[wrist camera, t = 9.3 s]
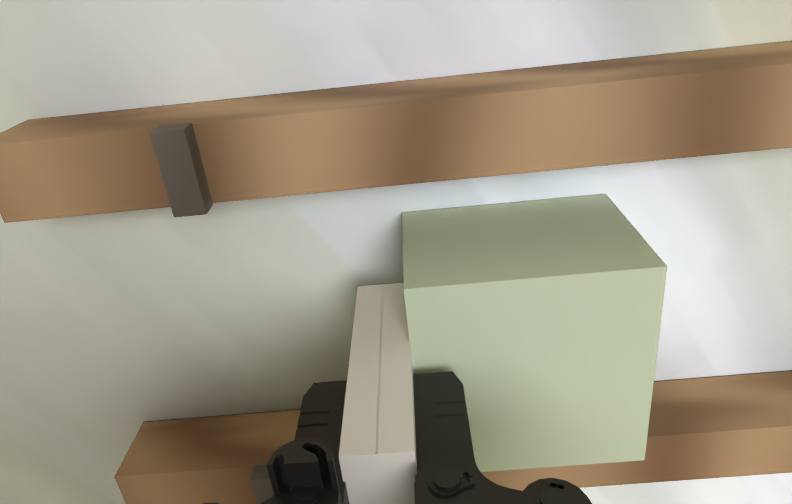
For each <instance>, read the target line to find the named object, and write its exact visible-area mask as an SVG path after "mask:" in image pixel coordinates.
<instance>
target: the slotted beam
mask: <svg viewBox="0 0 792 504" xmlns="http://www.w3.org/2000/svg"><path fill="white" fill-rule="evenodd" d="M790 147H792V41H784V42H775V43H765V44H755V45H746V46H736V47H726V48H717V49H707V50H697V51H688V52H678V53H668V54H659V55H649V56H640V57H630V58H620V59H611V60H601V61H591V62H582V63H572V64H562V65H553V66H543V67H533V68H524V69H514V70H504V71H495V72H485V73H476V74H466V75H456V76H447V77H437V78H427V79H418V80H408V81H398V82H389V83H379V84H369V85H360V86H350V87H340V88H331V89H321V90H312V91H302V92H292V93H283V94H273V95H263V96H254V97H244V98H234V99H225V100H215V101H205V102H196V103H186V104H176V105H167V106H157V107H148V108H138V109H128V110H119V111H109V112H99V113H90V114H80V115H70V116H61V117H51V118H41V119H32V120H27V121H25V122H23V123H21V124H18V125H16V126H14V127H12V128H10V129H8V130H6V131H4V132H2V133H0V214H1V216H2V218H3V221H4V223H7V222H17V221H28V220H38V219H49V218H59V217H70V216H80V215H90V214H101V213H111V212H122V211H132V210H143V209H153V208H164V207H171V208H172V212H173V215H174V217H182V216H192V215H203V214H207V213H208V211H209V210H210V208H211V207H212V205H213V203H216V202H226V201H237V200H247V199H257V198H268V197H278V196H289V195H299V194H310V193H320V192H331V191H341V190H351V189H362V188H372V187H383V186H393V185H404V184H414V183H424V182H435V181H445V180H456V179H466V178H477V177H487V176H498V175H508V174H518V173H529V172H539V171H550V170H560V169H571V168H581V167H592V166H602V165H612V164H623V163H633V162H644V161H654V160H665V159H675V158H685V157H696V156H706V155H717V154H727V153H738V152H748V151H759V150H769V149H779V148H790ZM299 416H300V410H291V411H278V412H265V413H253V414H240V415H228V416H215V417H202V418H190V419H177V420H165V421H152V422H143V424H142V426H141V428H140V430H139V432H138V433H137V435H136V437H135V439H134V441H133V443H132V445H131V447H130V449H129V450H128V452H127V454H126V456H125V458H124V460H123V462H122V464H121V466H120V468H119V469H118V471H117V473H116V475H115V479H116V481H117V484H118V486H119V488H120V491H121V493H122V495H123V498H124V500H125V502H126V504H203V503H216V502H217V503H220V504H260V503H262V502H264V501H266V500H267V499H269V498H270V497H272V496H273V495H274V493H273V489H272V485H271V481H270V477H269V474H268V470H267V466H266V465H267V463H268V461H269V459H270V457H271V455H272V454H273V453H274V452H275V451H276V450H277V449H278V448H279V447H281V446H283V445H285V444H287V443H289V442H291V441H294V439H295V434H296V429H297V425H298V420H299ZM789 472H792V371H782V372H770V373H757V374H745V375H732V376H719V377H707V378H694V379H681V380H669V381H656V382H654V383H653V392H652V400H651V409H650V418H649V426H648V435H647V443H646V452H645V460H641V461H628V462H614V463H600V464H586V465H572V466H558V467H544V468H531V469H517V470H503V471H489V472H481V473H482V474H483V475H484V476H485V477H486V478H487V479H488V480H490V481H492V482H494V483H496V484H497V485H500V486H504V487H507V488H511V489H516V490H521V491H523V490H524V489H525V488H526V487H527V485H528V484H530V483H532V482H534V481H536V480H538V479H545V478H556V479H561V480H566V481H568V482H570V483H572V484H574V485H575V486H577V487H579V488H580V487H594V486H608V485H622V484H636V483H650V482H664V481H678V480H692V479H706V478H720V477H734V476H747V475H761V474H775V473H789Z"/></svg>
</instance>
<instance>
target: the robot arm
mask: <svg viewBox="0 0 792 504" xmlns="http://www.w3.org/2000/svg"><path fill="white" fill-rule="evenodd" d="M266 466H267V470H268V474H269V477H270V481H271V485H272V489H273V493H274V495H273V496H272V497H270V498H269V499H267V500H266V501H264V502H262V503H260V504H592V503H591V501H590V500H589V498H588V497H587V496H586V495H585V494H584V493H583V492H582V490H581V489H580V488H579V487H577V486H575V485H574V484H572V483H570V482H568V481H566V480H561V479H556V478H545V479H538V480H536V481H534V482H532V483H530V484H528V485H527V487H526V488H525V489H524V490H523V491H521V490H516V489H511V488H507V487H504V486H500V485H497V484H496V483H494V482H492V481H490V480H488V479H487V478H486V477H485V476H484V475H483V474H482V473H481V472H480V470H479V469H478V467H477V465H476V462H475V458H474V452H473V445H472V439H471V432H470V426H469V419H468V414H467V407H466V401H465V394H464V387H463V383H462V382H461V381H460V380H459V378H458V377H457V376H456V375H455V374H454V372H453V371H448V372H435V373H422V374H413V364H412V354H411V344H410V342H409V333H408V324H407V315H406V305H405V296H404V283H393V284H380V285H368V286H357V295H356V304H355V313H354V322H353V331H352V340H351V349H350V358H349V367H348V376H347V380H346V381H333V382H320V383H314V384H313V385H312V386H311V388H310V389H309V390H308V391H307V393H306V394H305V395H304V397H303V400H302V405H301V410H300V416H299V420H298V425H297V429H296V434H295V439H294V441H291V442H289V443H287V444H285V445H283V446H281V447H279V448H278V449H277V450H276V451H275V452H274V453H273V454H272V455H271V457H270V459H269V461H268V463H267V465H266ZM203 504H220V503H217V502H216V503H203Z"/></svg>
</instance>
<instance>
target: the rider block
mask: <svg viewBox="0 0 792 504" xmlns="http://www.w3.org/2000/svg"><path fill="white" fill-rule="evenodd" d="M402 234H403V278H404V296H405V305H406V315H407V324H408V333H409V342H410V344H411V354H412V364H413V374H422V373H435V372H448V371H453V372H454V374H455V375H456V376H457V377H458V378H459V380H460V381H461V382H462V383H463V387H464V394H465V401H466V407H467V414H468V419H469V426H470V432H471V439H472V445H473V452H474V458H475V462H476V465H477V467H478V469H479V470H480V472H489V471H503V470H517V469H531V468H544V467H558V466H572V465H586V464H600V463H614V462H628V461H641V460H645V452H646V443H647V435H648V426H649V418H650V409H651V400H652V392H653V383H654V375H655V366H656V358H657V349H658V340H659V332H660V323H661V315H662V306H663V298H664V289H665V280H666V272H667V266H666V265H665V263H664V262H663V261H662V260H661V259H660V257H659V256H658V255H657V254H656V253H655V252H654V250H653V249H652V248H651V247H650V246H649V244H648V243H647V242H646V241H645V240H644V239H643V237H642V236H641V235H640V234H639V233H638V231H637V230H636V229H635V228H634V227H633V225H632V224H631V223H630V222H629V221H628V220H627V218H626V217H625V216H624V215H623V214H622V212H621V211H620V210H619V209H618V208H617V207H616V205H615V204H614V203H613V202H612V201H611V199H610V198H609V197H608V196H607V195H606V194H598V195H587V196H576V197H566V198H555V199H544V200H533V201H522V202H511V203H500V204H490V205H479V206H468V207H457V208H446V209H435V210H424V211H414V212H403V213H402Z"/></svg>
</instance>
